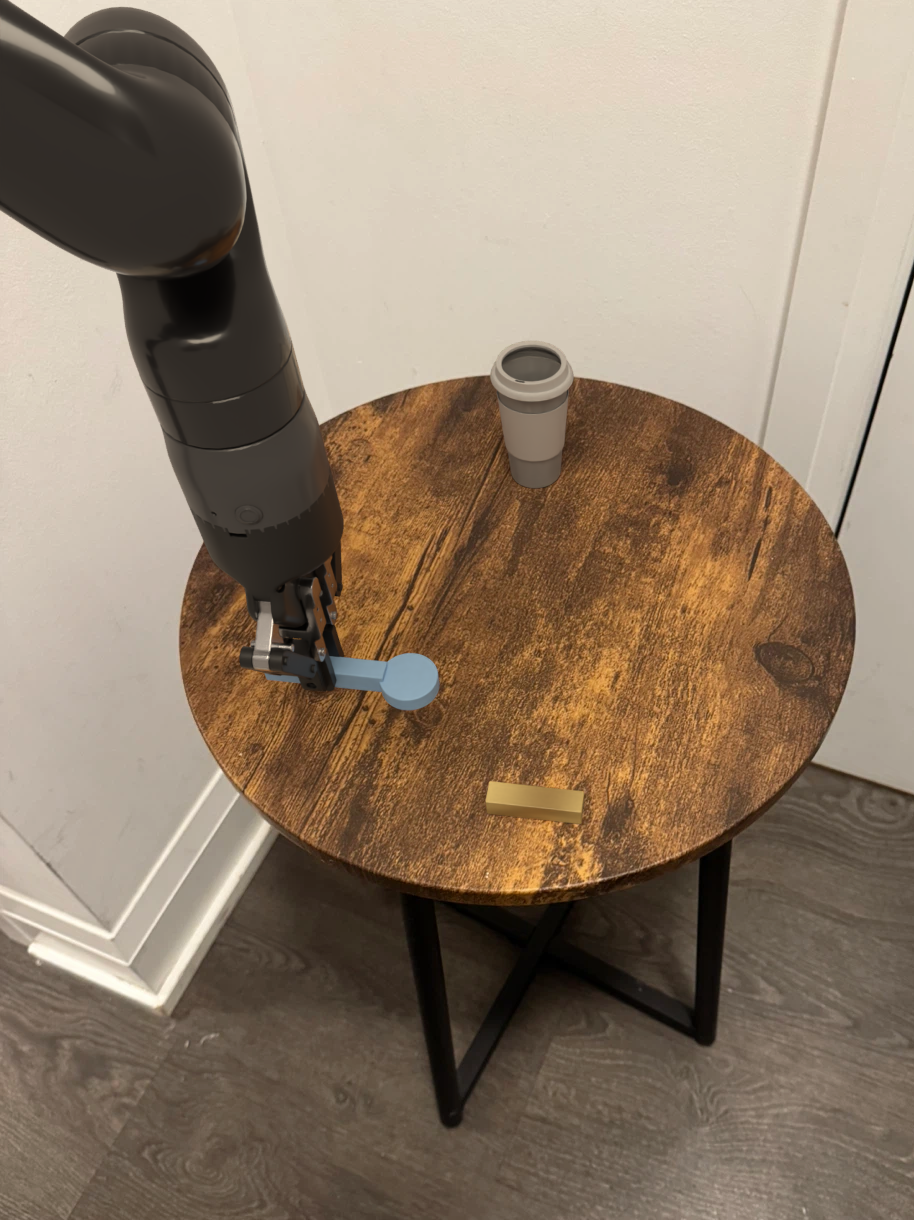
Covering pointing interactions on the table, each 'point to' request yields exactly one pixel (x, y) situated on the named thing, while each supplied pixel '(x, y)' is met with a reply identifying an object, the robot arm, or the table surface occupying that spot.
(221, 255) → the robot arm
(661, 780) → the table surface
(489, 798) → the fry stick
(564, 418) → the cup
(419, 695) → the spoon
